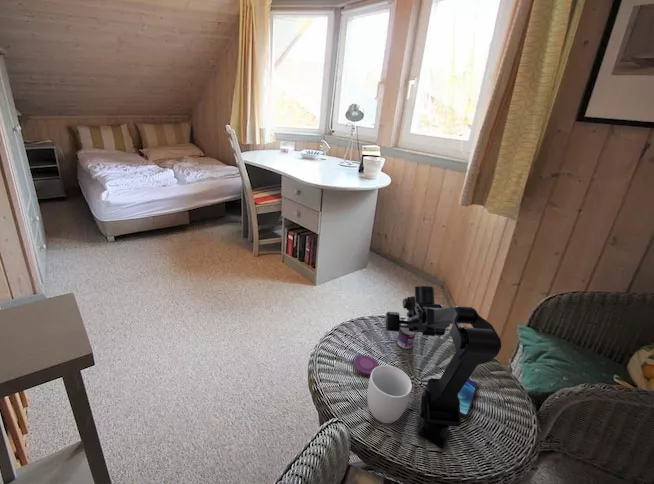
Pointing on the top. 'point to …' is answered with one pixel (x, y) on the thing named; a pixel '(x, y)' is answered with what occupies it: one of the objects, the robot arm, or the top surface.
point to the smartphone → (466, 397)
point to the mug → (388, 393)
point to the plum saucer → (365, 364)
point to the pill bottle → (405, 337)
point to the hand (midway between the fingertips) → (407, 325)
